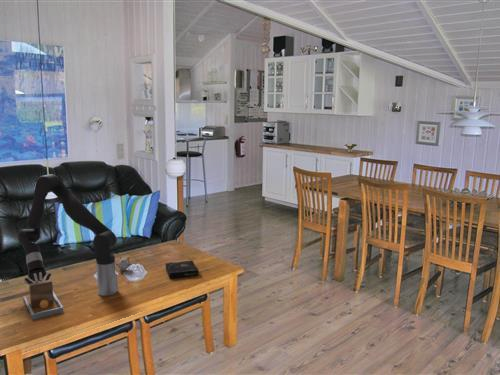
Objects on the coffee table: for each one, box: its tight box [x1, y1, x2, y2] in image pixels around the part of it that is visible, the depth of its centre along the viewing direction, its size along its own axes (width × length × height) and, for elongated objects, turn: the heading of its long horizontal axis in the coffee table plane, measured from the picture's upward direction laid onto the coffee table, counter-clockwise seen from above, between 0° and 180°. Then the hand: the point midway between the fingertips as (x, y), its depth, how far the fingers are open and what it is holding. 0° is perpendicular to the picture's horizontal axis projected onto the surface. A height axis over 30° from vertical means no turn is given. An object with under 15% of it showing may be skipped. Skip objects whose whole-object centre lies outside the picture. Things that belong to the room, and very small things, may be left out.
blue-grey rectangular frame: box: [28, 298, 64, 321], centre depth 214 cm, size 11×14×2 cm
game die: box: [115, 256, 133, 271], centre depth 264 cm, size 9×8×10 cm
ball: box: [39, 300, 50, 309], centre depth 217 cm, size 4×4×4 cm
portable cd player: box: [165, 260, 199, 280], centre depth 264 cm, size 16×17×4 cm
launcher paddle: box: [28, 279, 55, 308], centre depth 220 cm, size 3×10×11 cm, turn 125°
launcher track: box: [23, 290, 59, 312], centre depth 224 cm, size 16×14×2 cm
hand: (41, 293), depth 222 cm, fingers closed
